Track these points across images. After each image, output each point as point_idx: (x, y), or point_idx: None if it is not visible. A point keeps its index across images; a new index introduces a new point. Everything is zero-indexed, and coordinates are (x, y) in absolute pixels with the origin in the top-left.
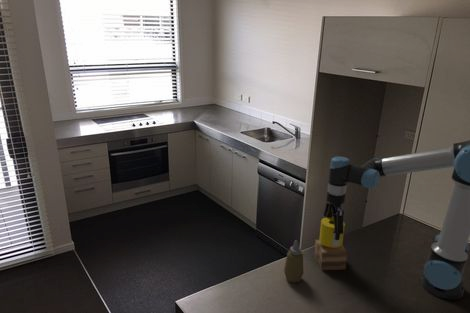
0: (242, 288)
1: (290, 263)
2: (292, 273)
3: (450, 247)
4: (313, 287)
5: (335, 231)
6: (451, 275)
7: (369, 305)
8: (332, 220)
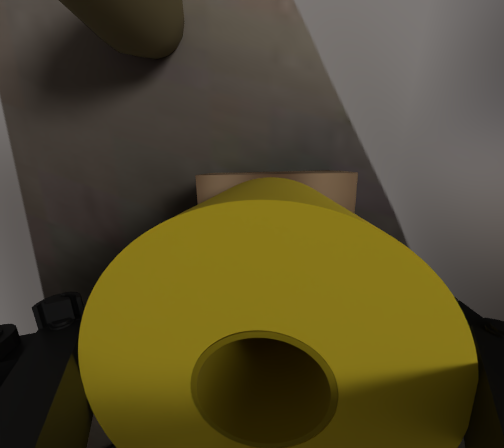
0: None
1: None
2: None
3: None
4: (108, 108)
5: (51, 326)
6: None
7: (49, 270)
8: (335, 412)
